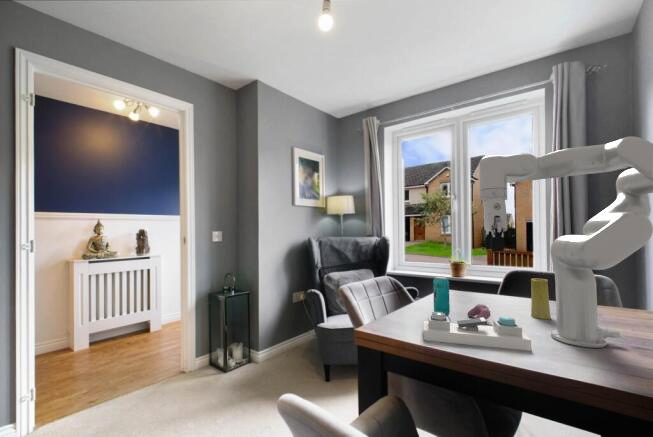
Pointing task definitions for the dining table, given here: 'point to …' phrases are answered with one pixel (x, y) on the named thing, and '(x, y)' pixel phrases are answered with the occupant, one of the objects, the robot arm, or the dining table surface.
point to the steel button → (438, 316)
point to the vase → (540, 299)
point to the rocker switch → (472, 322)
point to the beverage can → (441, 295)
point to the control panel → (477, 334)
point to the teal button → (506, 321)
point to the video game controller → (479, 312)
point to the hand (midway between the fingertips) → (494, 250)
